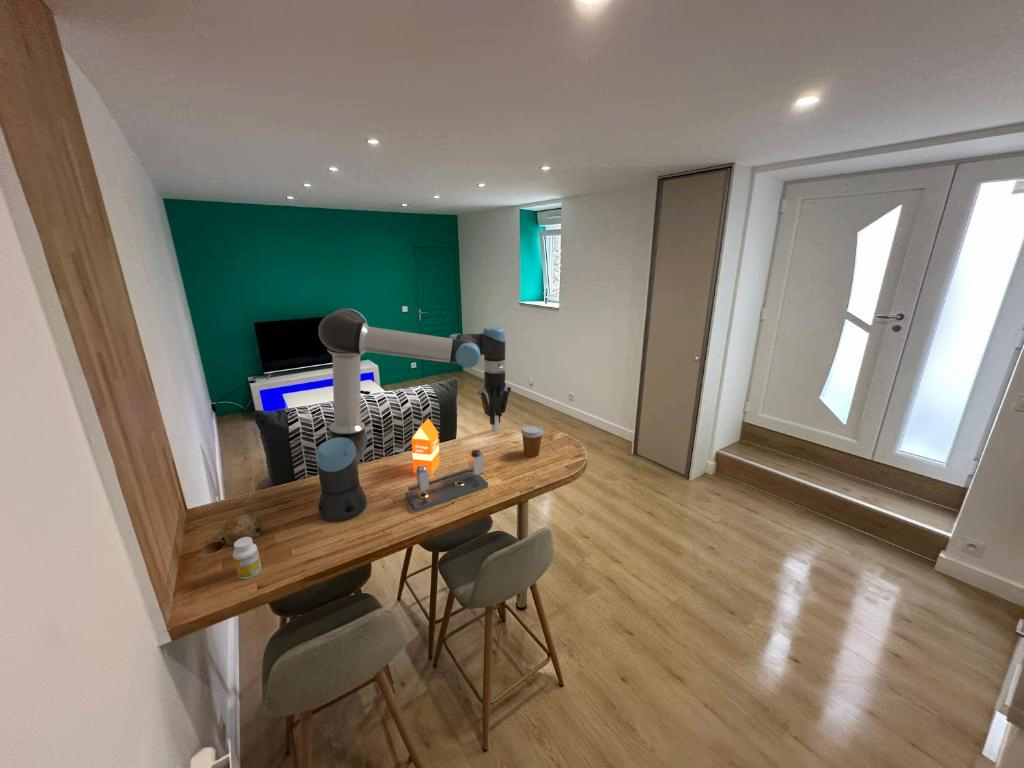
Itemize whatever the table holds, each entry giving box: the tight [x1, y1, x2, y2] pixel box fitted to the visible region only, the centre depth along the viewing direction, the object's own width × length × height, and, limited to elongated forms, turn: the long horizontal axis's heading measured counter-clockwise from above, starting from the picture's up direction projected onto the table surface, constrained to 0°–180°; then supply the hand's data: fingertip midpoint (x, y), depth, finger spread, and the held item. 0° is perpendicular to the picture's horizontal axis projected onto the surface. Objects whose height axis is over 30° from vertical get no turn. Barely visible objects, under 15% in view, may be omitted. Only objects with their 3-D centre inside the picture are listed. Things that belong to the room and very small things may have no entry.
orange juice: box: [411, 418, 440, 475], centre depth 157 cm, size 8×9×20 cm
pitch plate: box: [404, 465, 489, 513], centre depth 141 cm, size 28×10×13 cm, turn 124°
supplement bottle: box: [232, 537, 262, 580], centre depth 105 cm, size 5×5×10 cm
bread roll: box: [218, 513, 262, 546], centre depth 119 cm, size 10×10×8 cm
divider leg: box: [468, 449, 485, 476], centre depth 147 cm, size 4×4×10 cm
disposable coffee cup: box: [520, 424, 544, 458], centre depth 171 cm, size 10×10×12 cm
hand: (495, 431), depth 148 cm, fingers closed
